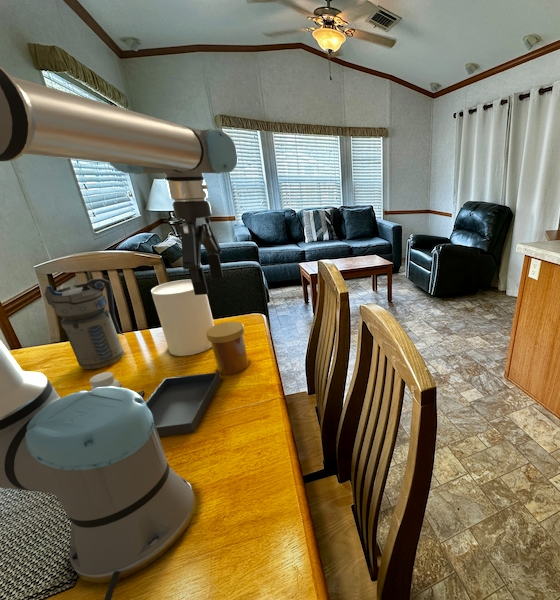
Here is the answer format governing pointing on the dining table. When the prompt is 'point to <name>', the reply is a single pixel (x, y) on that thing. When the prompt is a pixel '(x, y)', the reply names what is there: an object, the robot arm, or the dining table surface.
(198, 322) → the canister
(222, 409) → the dining table surface
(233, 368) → the jar
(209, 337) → the lid
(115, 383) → the pill bottle
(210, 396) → the tray
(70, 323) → the beverage bottle
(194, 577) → the dining table surface
